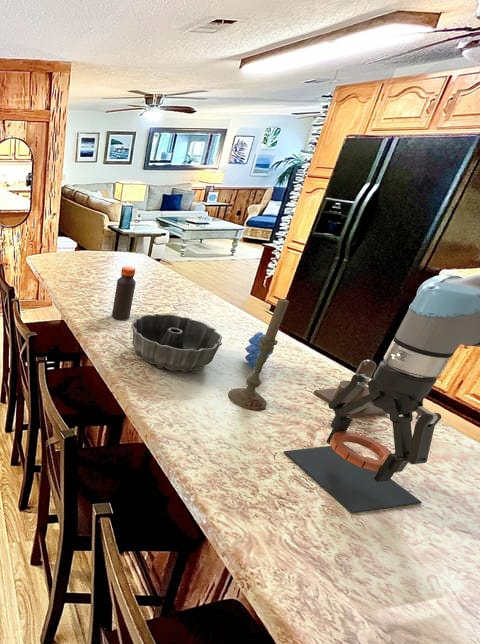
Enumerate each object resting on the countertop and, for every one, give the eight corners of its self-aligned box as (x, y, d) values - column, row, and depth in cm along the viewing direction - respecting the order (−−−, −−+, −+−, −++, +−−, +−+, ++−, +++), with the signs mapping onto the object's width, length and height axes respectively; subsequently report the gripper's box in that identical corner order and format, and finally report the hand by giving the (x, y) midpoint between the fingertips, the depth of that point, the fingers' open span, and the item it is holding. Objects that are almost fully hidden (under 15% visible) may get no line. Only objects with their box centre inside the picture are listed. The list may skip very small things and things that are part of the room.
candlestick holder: (233, 407, 102) (270, 302, 89) (223, 387, 110) (256, 289, 97) (271, 413, 100) (315, 306, 87) (259, 393, 108) (298, 292, 95)
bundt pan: (109, 348, 130) (114, 321, 126) (164, 333, 141) (170, 307, 137) (173, 389, 109) (181, 358, 105) (232, 367, 120) (242, 339, 116)
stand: (386, 414, 101) (412, 370, 95) (350, 418, 99) (374, 373, 93) (346, 390, 110) (367, 348, 104) (313, 392, 109) (332, 351, 103)
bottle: (130, 321, 150) (139, 271, 141) (112, 319, 150) (120, 270, 142) (128, 314, 156) (136, 266, 147) (110, 312, 157) (118, 265, 148)
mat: (420, 503, 76) (422, 501, 75) (351, 513, 73) (352, 511, 73) (343, 445, 90) (344, 444, 90) (283, 452, 87) (284, 450, 87)
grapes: (274, 378, 115) (288, 343, 109) (249, 375, 116) (261, 340, 111) (260, 359, 125) (272, 326, 120) (237, 356, 126) (248, 323, 121)
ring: (404, 468, 75) (408, 462, 74) (362, 473, 74) (366, 467, 73) (356, 435, 84) (359, 429, 83) (318, 439, 82) (321, 433, 81)
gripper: (334, 340, 79) (295, 425, 89) (468, 407, 59) (398, 508, 69) (365, 338, 80) (323, 423, 90) (506, 404, 60) (432, 503, 70)
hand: (355, 460), depth 79 cm, fingers closed on ring, 10 cm apart
